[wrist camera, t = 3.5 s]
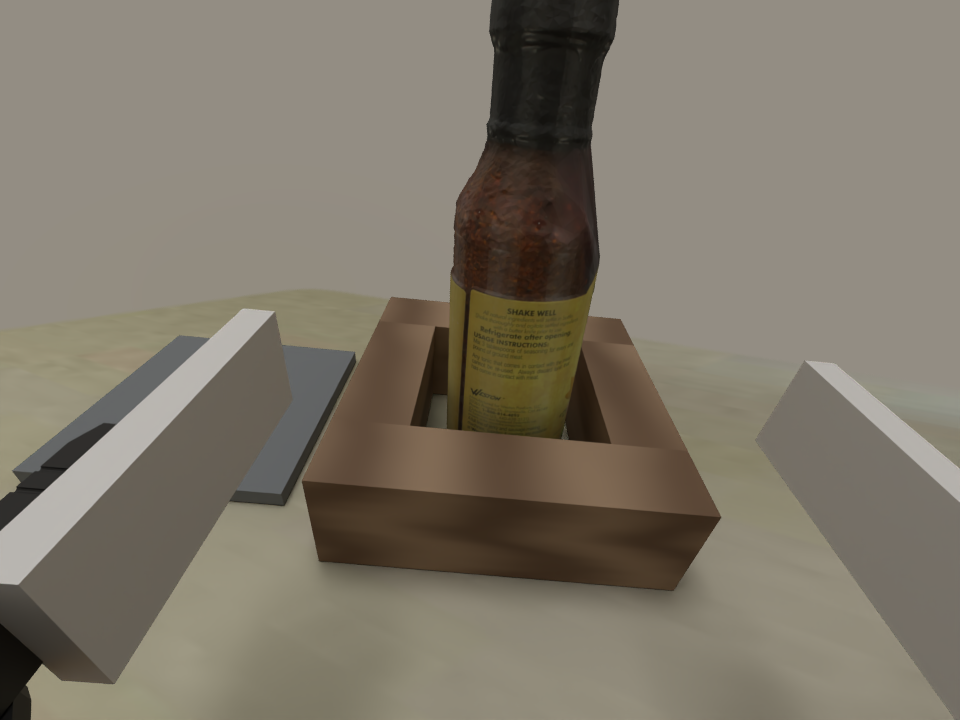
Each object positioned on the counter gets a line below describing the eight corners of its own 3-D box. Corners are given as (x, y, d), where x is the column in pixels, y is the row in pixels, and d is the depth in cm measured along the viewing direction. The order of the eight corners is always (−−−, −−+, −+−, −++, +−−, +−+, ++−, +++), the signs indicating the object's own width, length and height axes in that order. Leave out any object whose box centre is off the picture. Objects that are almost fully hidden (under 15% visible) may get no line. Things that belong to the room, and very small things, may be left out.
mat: (355, 361, 30) (354, 351, 29) (283, 505, 20) (281, 493, 19) (182, 345, 29) (179, 335, 29) (21, 482, 19) (11, 470, 19)
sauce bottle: (577, 460, 24) (720, 0, 13) (492, 514, 20) (588, -53, 9) (501, 397, 28) (561, 7, 17) (419, 433, 24) (426, -27, 13)
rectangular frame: (601, 380, 30) (620, 319, 28) (673, 590, 18) (721, 517, 15) (393, 360, 30) (391, 297, 27) (318, 560, 18) (301, 480, 15)
